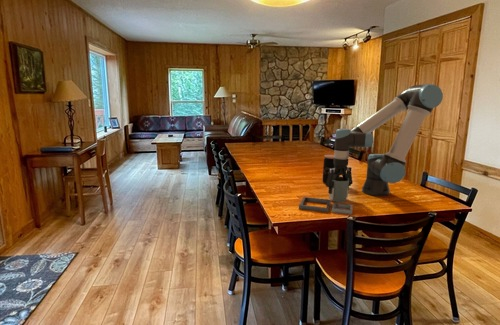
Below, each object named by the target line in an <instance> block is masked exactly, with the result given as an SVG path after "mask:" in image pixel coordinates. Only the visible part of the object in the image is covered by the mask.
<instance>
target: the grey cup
mask: <svg viewBox="0 0 500 325" xmlns="http://www.w3.org/2000/svg"><path fill="white" fill-rule="evenodd" d="M332 181H334V186H333V188H334V197H333V200H331V202H332V201H333V202H334V203H345V202H346V201H347V198H348V197H347V190H348V185H349V179H347V181H344V179H343V177H342V176H341V175H340V176H339V177H338V178H337V180H336V181H335V180H332Z"/></svg>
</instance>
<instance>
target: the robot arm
mask: <svg viewBox="0 0 500 325" xmlns="http://www.w3.org/2000/svg"><path fill="white" fill-rule="evenodd" d="M443 98H444V94H443V91H442V89H441V87H439V86H438V85H436V84H431V83H426V84H425V83H424V84H414V85H411V86H410V87H408V88H406V89H404V90H403V91H401V93H399V94H398V95H395V96H394V97H393V99H392V101H391V102H389V103H388V104H386V105H385V106H384V107H382V108H381V109H379V110H378V111H376V112H375V113H373V114H372V115H371V116H369V117H368V118H365V120H363V121H362V122H361V123H359V124H358V125H356V126H355V127H353V128H351V129H350V128H349V129H348V128H338V129H336V130H335V135H334V139H335V140H334V150H333V152H334V153H333V155H334V157H335V158H334V168H333V169H329V175H328V178H327V182H326V184H325V187H327V188H328V200H331V201H332V200H333V197H334V188H333V186H334V181H332V180H335V181H336V180H337V178H338V177H339V175H340V176H341V177H343V179H344V181H347V179H349V185H348V190H347V198H348V197H349V191H350V187H351V186H352V185H353V184H354V183H353V176H352V169H353V168H352V167H351V166H349V157H350V148H370V147H372V146H373V144H374V135H373V133H372V132H374V131H375V130H377V129H379V128H380V127H381V126H383V125H384V124H385V123H387V122H388V121H389V120H391V119H392V118H394V117H395V116H398V114H400V113H401V112H406V111H407V113H406V115H405V118H404V120H403V121H402V124H401V125H400V127H399V130H398V132H397V135H396V137H395V138H394V140H393V143H392V144H391V147H390V148H389V151H388V152H386V153H370V154H368V156H367V165H366V177H365V181H364V182H363V185H362V189H361V191H362V193H364V194H367V195H369V196H377V197H385V196H388V195H390V191H391V190H390V189H391V188H390V186H389V184H396V183H399V182H401V181H402V180H403V179H404V177H406V172H407V171H406V168H405V166H406V164H407V160H406V157H407V155H408V153H409V151H410V148H411V147H412V145H413V143H414V141H415V139H416V137H417V134H418V132H419V130H420V129H421V126H422V125H423V122H424V121H425V118H426V117H427V116H428V115H431V114H432V113H433V112H432V111H433V110H434V109H435V108H437V107H438V106H440V105H441V103H442V102H443Z"/></svg>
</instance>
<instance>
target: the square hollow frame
mask: <svg viewBox="0 0 500 325" xmlns="http://www.w3.org/2000/svg"><path fill="white" fill-rule="evenodd" d="M306 202H308V203H309V202H310V203H318V204H326V207H325V206H324V207H323V206H315V205H305V203H306ZM331 204H332V200H331V199H329V198H328V199H326V198H319V197H318V198H316V197H309V196H304V197H302V199H301V201H300V203H299V205H298V210H303V211H311V212H319V213H320V212H321V213H327V214H328V213H329V212H330V208H331Z"/></svg>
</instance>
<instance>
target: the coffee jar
mask: <svg viewBox="0 0 500 325" xmlns="http://www.w3.org/2000/svg"><path fill="white" fill-rule="evenodd" d="M334 158H335V157H334V154H324V155H323V163H322V164H323V166H322V182H323V184H325V185H326V182H327V178H328V175H329V169H333V168H334ZM339 176H340V177H341V175H339Z"/></svg>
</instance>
